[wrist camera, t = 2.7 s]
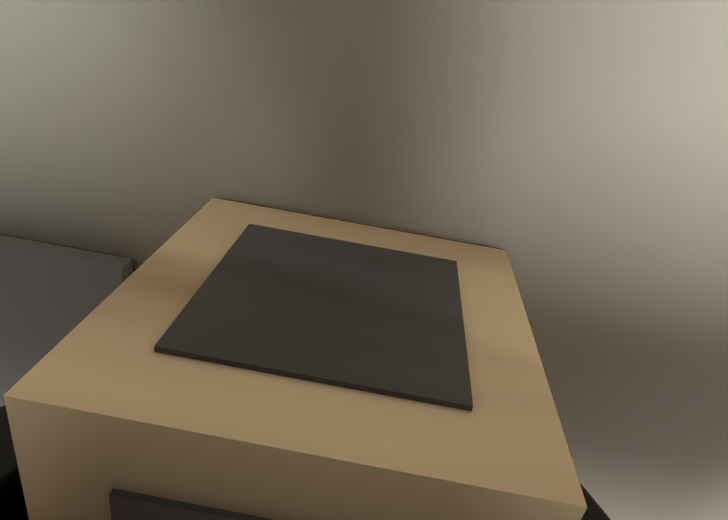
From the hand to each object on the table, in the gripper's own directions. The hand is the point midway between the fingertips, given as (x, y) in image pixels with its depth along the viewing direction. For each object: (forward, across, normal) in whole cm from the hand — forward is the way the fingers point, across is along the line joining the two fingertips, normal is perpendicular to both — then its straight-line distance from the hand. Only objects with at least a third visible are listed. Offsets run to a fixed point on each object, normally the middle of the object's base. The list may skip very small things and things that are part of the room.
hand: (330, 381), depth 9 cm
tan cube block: (+1, 0, 0) cm, 1 cm away
